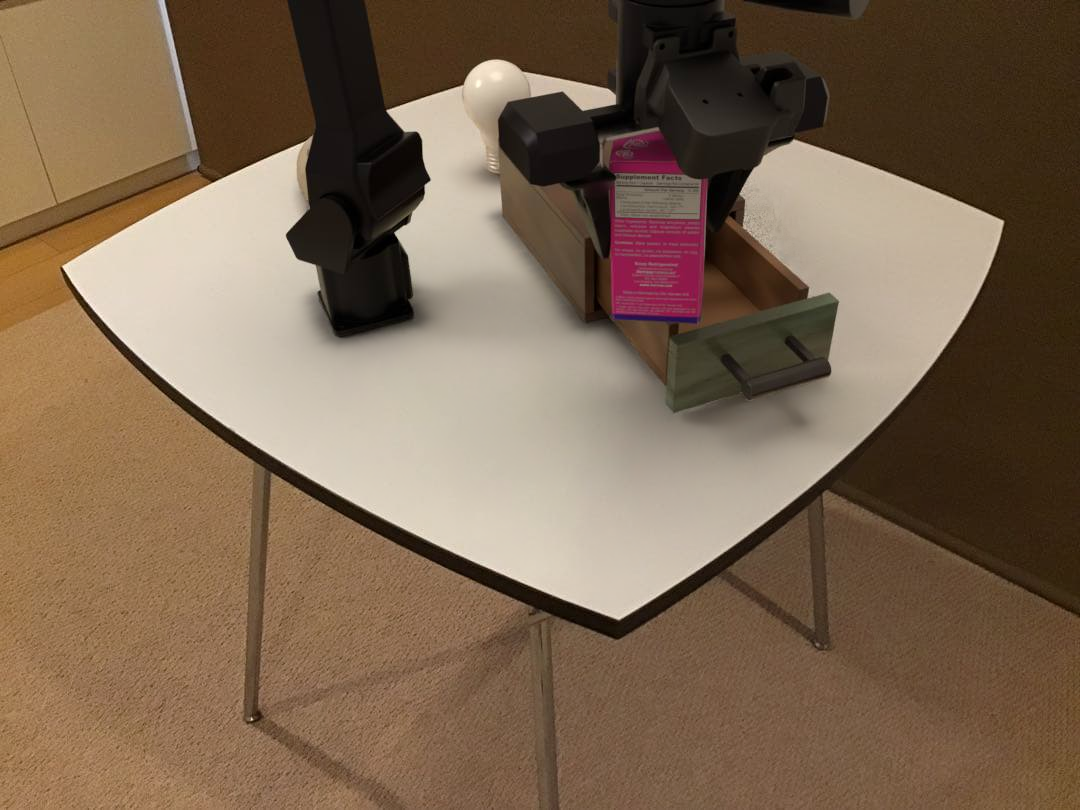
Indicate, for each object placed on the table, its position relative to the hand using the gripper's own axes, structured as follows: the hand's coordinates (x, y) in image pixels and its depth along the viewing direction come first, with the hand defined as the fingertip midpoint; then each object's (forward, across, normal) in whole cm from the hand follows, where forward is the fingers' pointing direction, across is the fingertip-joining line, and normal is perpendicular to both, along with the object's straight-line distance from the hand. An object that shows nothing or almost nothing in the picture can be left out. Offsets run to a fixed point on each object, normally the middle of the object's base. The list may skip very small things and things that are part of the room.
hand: (658, 242), depth 65 cm
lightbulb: (+13, +2, +37) cm, 39 cm away
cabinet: (+13, +6, +20) cm, 25 cm away
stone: (+13, -14, +40) cm, 44 cm away
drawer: (+12, +6, +4) cm, 14 cm away
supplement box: (+4, 0, 0) cm, 5 cm away
